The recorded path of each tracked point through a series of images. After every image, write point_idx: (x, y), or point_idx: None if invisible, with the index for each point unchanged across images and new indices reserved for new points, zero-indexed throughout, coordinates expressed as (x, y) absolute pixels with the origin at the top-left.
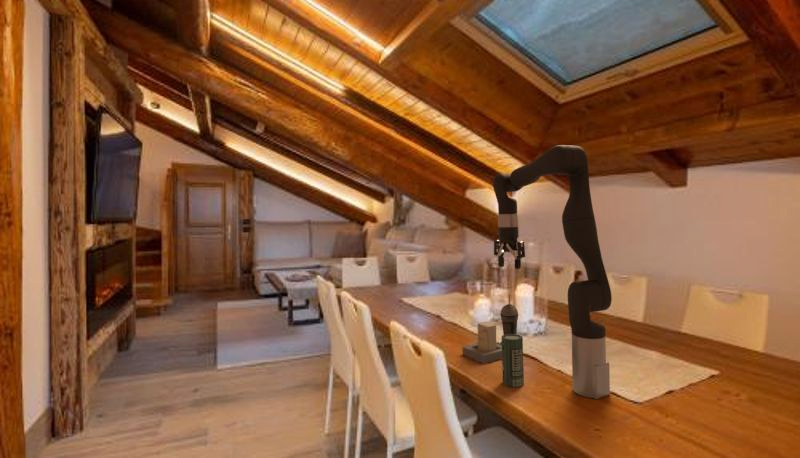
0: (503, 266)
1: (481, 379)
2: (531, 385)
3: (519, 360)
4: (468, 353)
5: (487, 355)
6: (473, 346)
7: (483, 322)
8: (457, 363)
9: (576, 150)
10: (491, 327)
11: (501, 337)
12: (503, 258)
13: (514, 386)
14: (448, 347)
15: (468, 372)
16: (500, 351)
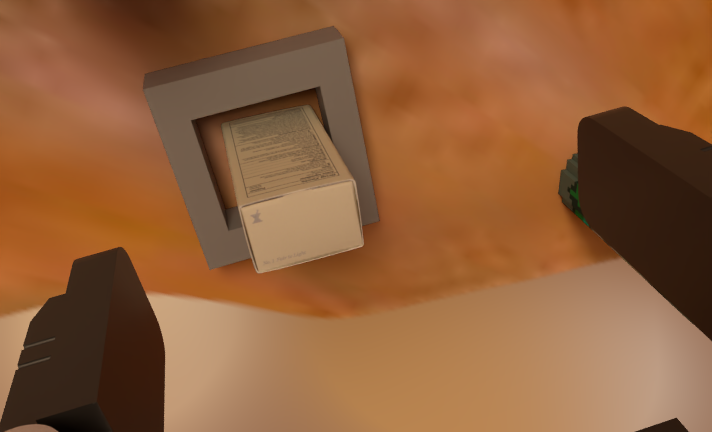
0: (128, 258)
1: (503, 266)
2: None
3: None
4: None
5: (373, 195)
6: (222, 214)
7: (257, 232)
8: (311, 299)
9: None
10: (359, 213)
11: (689, 320)
12: (109, 390)
13: None
14: (65, 280)
15: (422, 288)
16: (358, 113)
